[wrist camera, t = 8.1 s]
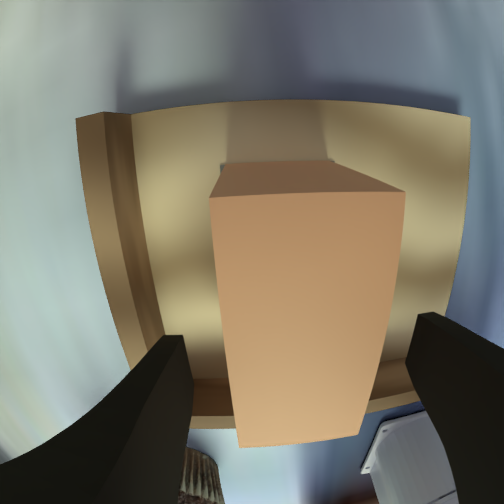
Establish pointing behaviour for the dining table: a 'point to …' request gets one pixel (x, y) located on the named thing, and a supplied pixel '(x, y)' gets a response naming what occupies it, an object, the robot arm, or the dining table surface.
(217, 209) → the block
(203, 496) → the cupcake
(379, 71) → the dining table surface
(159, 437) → the robot arm
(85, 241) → the dining table surface
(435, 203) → the wooden tray
